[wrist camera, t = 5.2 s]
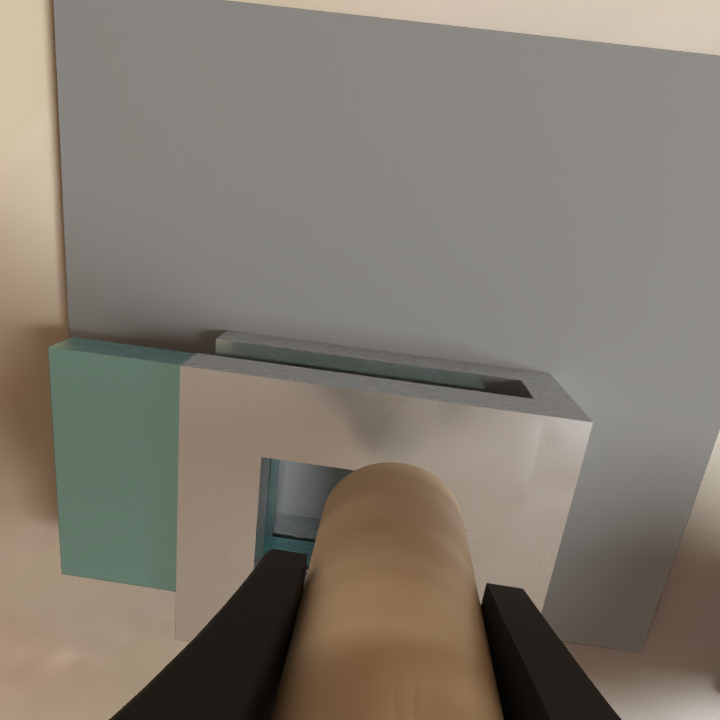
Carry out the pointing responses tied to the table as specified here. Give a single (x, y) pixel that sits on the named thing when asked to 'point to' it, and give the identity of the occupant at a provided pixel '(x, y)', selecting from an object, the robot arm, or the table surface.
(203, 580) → the peg hole fixture
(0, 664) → the table surface
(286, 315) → the rubber mat
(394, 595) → the maple pin
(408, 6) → the table surface
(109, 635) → the table surface
